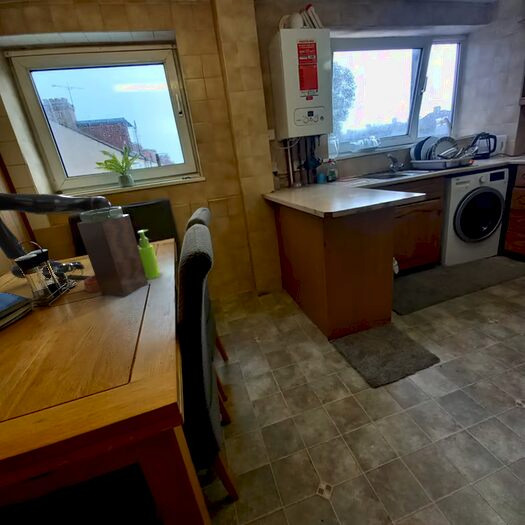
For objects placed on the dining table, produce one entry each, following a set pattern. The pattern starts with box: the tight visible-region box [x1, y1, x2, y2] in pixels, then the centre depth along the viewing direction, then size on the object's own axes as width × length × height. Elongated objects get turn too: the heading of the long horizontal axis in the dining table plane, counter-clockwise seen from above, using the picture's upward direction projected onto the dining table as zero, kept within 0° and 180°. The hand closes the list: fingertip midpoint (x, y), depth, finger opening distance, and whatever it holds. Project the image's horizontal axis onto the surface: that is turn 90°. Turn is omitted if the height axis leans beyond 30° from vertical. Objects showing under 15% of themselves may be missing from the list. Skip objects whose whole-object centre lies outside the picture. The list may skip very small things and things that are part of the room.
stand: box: [76, 206, 149, 298], centre depth 104 cm, size 13×13×31 cm
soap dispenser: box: [137, 228, 161, 280], centre depth 116 cm, size 6×7×20 cm
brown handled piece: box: [66, 274, 101, 293], centre depth 116 cm, size 9×22×4 cm, turn 69°
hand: (73, 270), depth 117 cm, fingers open, 8 cm apart
